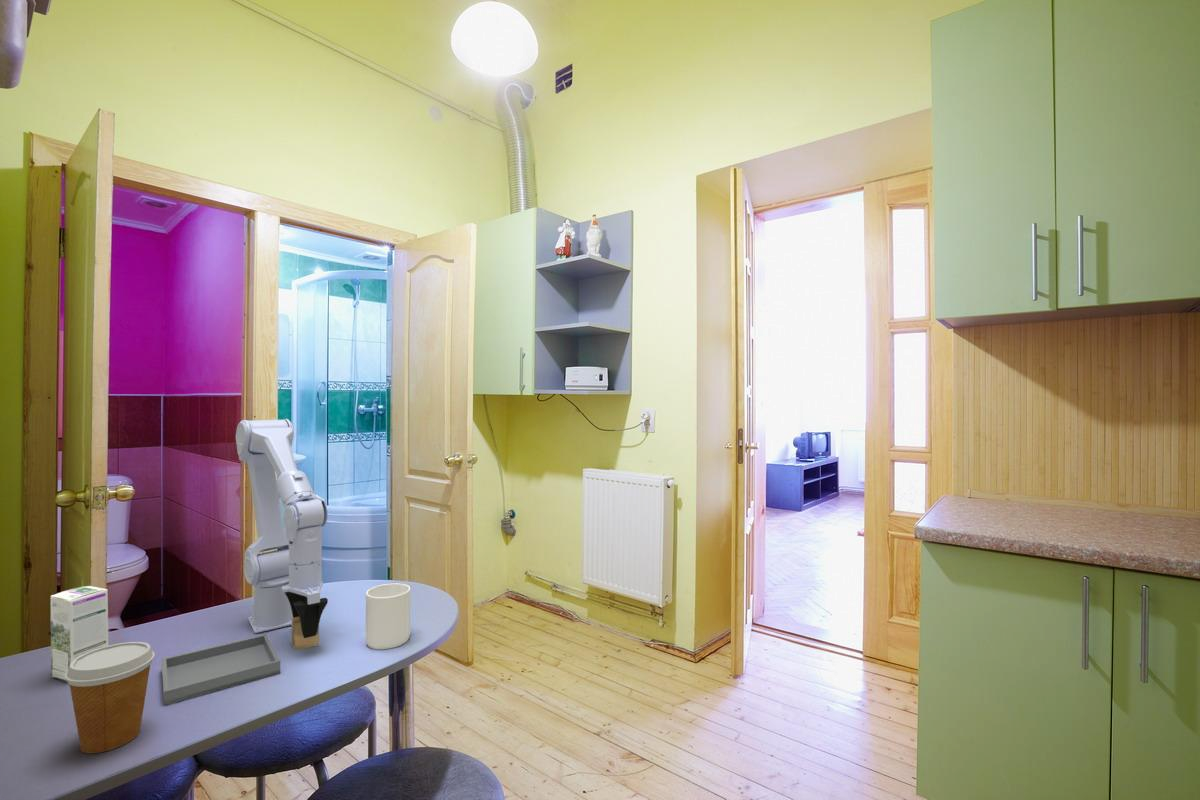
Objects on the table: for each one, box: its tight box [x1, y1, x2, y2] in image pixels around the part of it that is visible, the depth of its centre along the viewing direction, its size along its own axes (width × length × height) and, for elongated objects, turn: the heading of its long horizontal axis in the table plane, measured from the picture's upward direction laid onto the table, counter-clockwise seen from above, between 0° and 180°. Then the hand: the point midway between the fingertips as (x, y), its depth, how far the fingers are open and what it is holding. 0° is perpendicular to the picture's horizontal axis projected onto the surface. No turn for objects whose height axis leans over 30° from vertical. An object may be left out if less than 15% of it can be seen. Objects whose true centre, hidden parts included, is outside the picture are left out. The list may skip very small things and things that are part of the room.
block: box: [291, 617, 320, 651], centre depth 108 cm, size 4×4×5 cm
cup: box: [365, 582, 411, 650], centre depth 111 cm, size 8×12×10 cm
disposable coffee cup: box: [64, 641, 156, 754], centre depth 77 cm, size 10×10×12 cm
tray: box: [161, 633, 281, 706], centre depth 96 cm, size 14×16×2 cm
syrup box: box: [50, 585, 109, 682], centre depth 96 cm, size 6×6×14 cm
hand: (305, 629), depth 108 cm, fingers open, 7 cm apart
